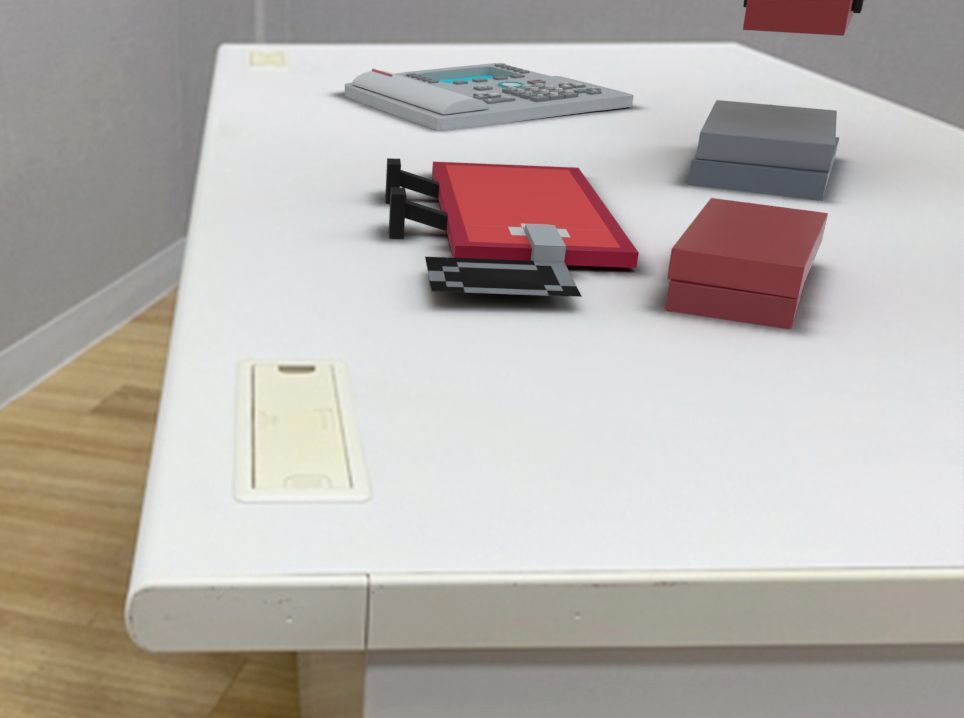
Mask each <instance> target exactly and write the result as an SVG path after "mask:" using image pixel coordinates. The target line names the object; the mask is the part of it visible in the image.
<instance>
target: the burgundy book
mask: <svg viewBox="0 0 964 718" xmlns="http://www.w3.org/2000/svg"><path fill="white" fill-rule="evenodd" d="M852 3H853V0H747V5H746V7H745V12H744V19H743V25H742V30H743V31H754V32H755V31H756V32H772V33H786V34H787V33H789V34H806V35H822V36H823V35H824V36H825V35H826V36H839V37H841V36H842V37H843V36H845V35H846V32H847V31H848V27H849V25H850V23H851V21H852V19H853V16H854V13H853V11H851V8H852Z"/></svg>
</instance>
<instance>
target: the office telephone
mask: <svg viewBox="0 0 964 718" xmlns="http://www.w3.org/2000/svg"><path fill="white" fill-rule="evenodd" d="M344 97H345V98H348V99H351V100H353V101H356V102H359V103H361V104H364V105H366V106H370V107H373V108H375V109H377V110H379V111H383V112H385V113H388V114H390V115H394V116H396V117H398V118H402V119H404V120H408V121H411V122H413V123H416V124H419V125H422V126H424V127H427V128H430V129H433V130H435V131H448V130H456V129H465V128H466V129H467V128H473V127H475V128H476V127H484V126H491V125H500V124H507V123H509V124H510V123H516V122H524V121H531V120H538V119H546V118H554V117H559V116H567V115H575V114H576V115H577V114H582V113H591V112H598V111H609V110H616V109H623V108H631V107H633V103H634V94H632V93H629V92H626V91H622V90H618V89H613V88H609V87H605V86H601V85H599V84H598V85H597V84H593V83H589V82H587V81H586V82H585V81H581V80H577V79H575V78H570V77H566V76H561V75H549V74H545V73H540V72H536V71H532V70H528V69H524V68H519V67H516V66H514V65H513V66H512V65H510V64H506V63H504V62H493V63H482V64H472V65H462V66H452V67H450V66H449V67H442V68H432V69H431V68H430V69H421V70H412V71H403V72H396V73H395V72H389V71H385V70H379V69H376V68H371V70H370V71H365V72H363V73H361V74H359V75H357V76H356V77H355V78H354V79H353V80H352V82H347V83H344Z"/></svg>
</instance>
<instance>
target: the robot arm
mask: <svg viewBox="0 0 964 718" xmlns="http://www.w3.org/2000/svg"><path fill="white" fill-rule="evenodd" d="M864 2H865V0H853V3H852V8H851V11H853V14H861V13H862V11H863V7H864ZM746 5H747V0H743V6H742V7H743V8H746Z"/></svg>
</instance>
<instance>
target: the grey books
mask: <svg viewBox="0 0 964 718" xmlns="http://www.w3.org/2000/svg"><path fill="white" fill-rule="evenodd" d="M837 118H838V110H834V109H825V108H824V109H823V108H814V107H802V106H801V107H800V106H791V105H790V106H789V105H777V104H766V103H755V102H745V101H732V100H723V99H716V100H715V102H714V104H713V106H712V107H711V110H710V112H709V113H708V116H707V117H706V120H705V122H704V124H703V126H702V128H701V130H700V131H699V137H698V143H697V148H696V153H695V155H694V156H693V158H692V159H691V161H690V167H689V174H688V181H687V186H693V187H703V188H710V189H711V188H712V189H720V190H728V191H736V192H744V193H753V194H761V195H769V196H780V197H788V198H795V199H796V198H797V199H802V200H803V199H804V200H813V201H821V202H822V201H823V200H824V196H825V193H826V189H827V187H828V183H829V180H830V176H831V173H832V171H833V168H834V167H833V166H834V163H835V160H836V155H837V151H838V146H839V142H840V137H839V136H837Z"/></svg>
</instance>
